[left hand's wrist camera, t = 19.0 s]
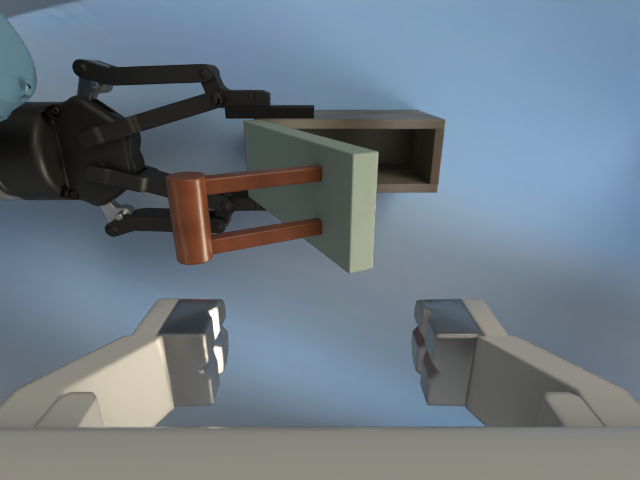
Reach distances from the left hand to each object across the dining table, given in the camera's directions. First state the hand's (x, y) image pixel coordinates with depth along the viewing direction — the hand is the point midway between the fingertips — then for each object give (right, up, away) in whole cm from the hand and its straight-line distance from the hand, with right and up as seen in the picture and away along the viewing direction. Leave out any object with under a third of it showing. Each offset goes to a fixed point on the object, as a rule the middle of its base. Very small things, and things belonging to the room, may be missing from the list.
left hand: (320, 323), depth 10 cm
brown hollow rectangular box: (+2, +11, +29) cm, 31 cm away
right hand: (0, +9, +23) cm, 24 cm away
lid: (-1, +6, +14) cm, 15 cm away
